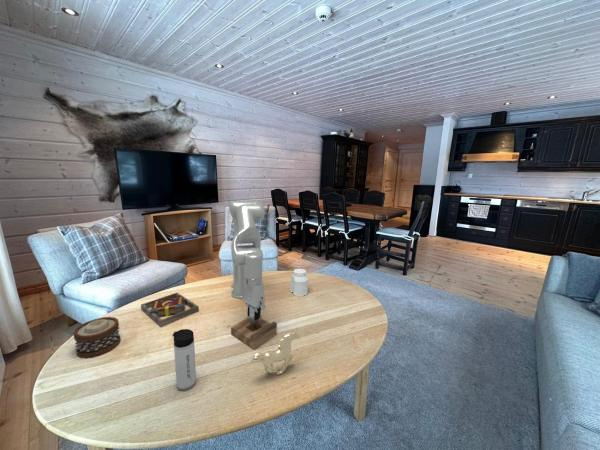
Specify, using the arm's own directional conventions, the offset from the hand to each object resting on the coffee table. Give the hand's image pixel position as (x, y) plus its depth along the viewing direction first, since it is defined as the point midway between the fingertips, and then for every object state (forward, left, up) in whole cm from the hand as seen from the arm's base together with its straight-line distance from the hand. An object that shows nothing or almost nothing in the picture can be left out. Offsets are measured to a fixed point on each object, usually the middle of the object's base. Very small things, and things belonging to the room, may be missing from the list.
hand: (254, 316), depth 112 cm
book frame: (-50, -16, -9) cm, 54 cm away
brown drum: (-43, -48, -10) cm, 65 cm away
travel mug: (+3, -34, -10) cm, 35 cm away
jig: (0, 0, -9) cm, 9 cm away
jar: (-11, +48, -10) cm, 50 cm away
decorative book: (-50, -16, -10) cm, 54 cm away
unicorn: (+24, -10, -10) cm, 27 cm away
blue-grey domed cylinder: (0, 0, -2) cm, 2 cm away
